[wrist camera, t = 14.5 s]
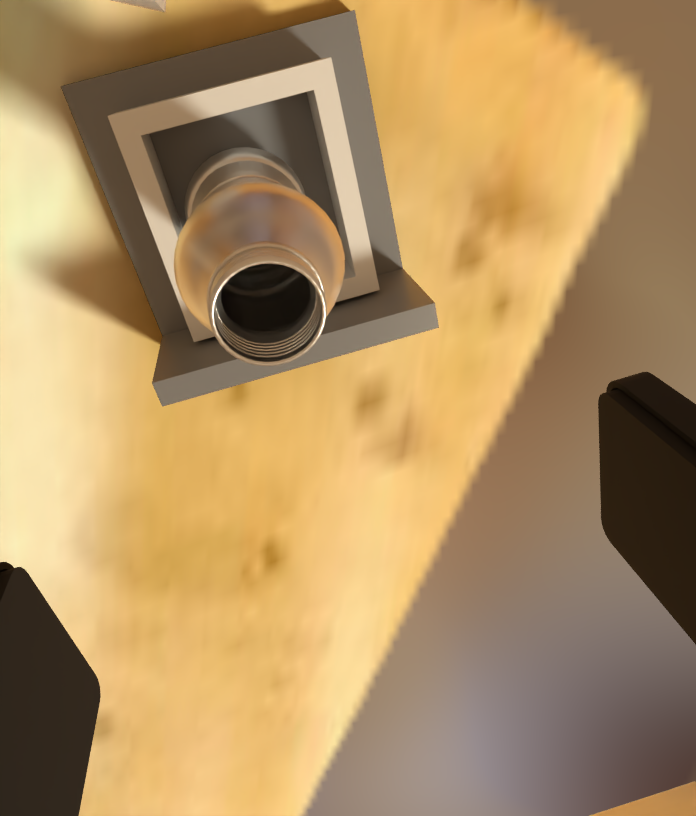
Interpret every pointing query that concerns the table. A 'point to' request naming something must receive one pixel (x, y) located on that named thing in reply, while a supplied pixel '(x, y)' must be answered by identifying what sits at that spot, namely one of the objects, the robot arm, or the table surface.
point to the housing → (262, 129)
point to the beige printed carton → (147, 4)
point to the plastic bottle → (257, 257)
